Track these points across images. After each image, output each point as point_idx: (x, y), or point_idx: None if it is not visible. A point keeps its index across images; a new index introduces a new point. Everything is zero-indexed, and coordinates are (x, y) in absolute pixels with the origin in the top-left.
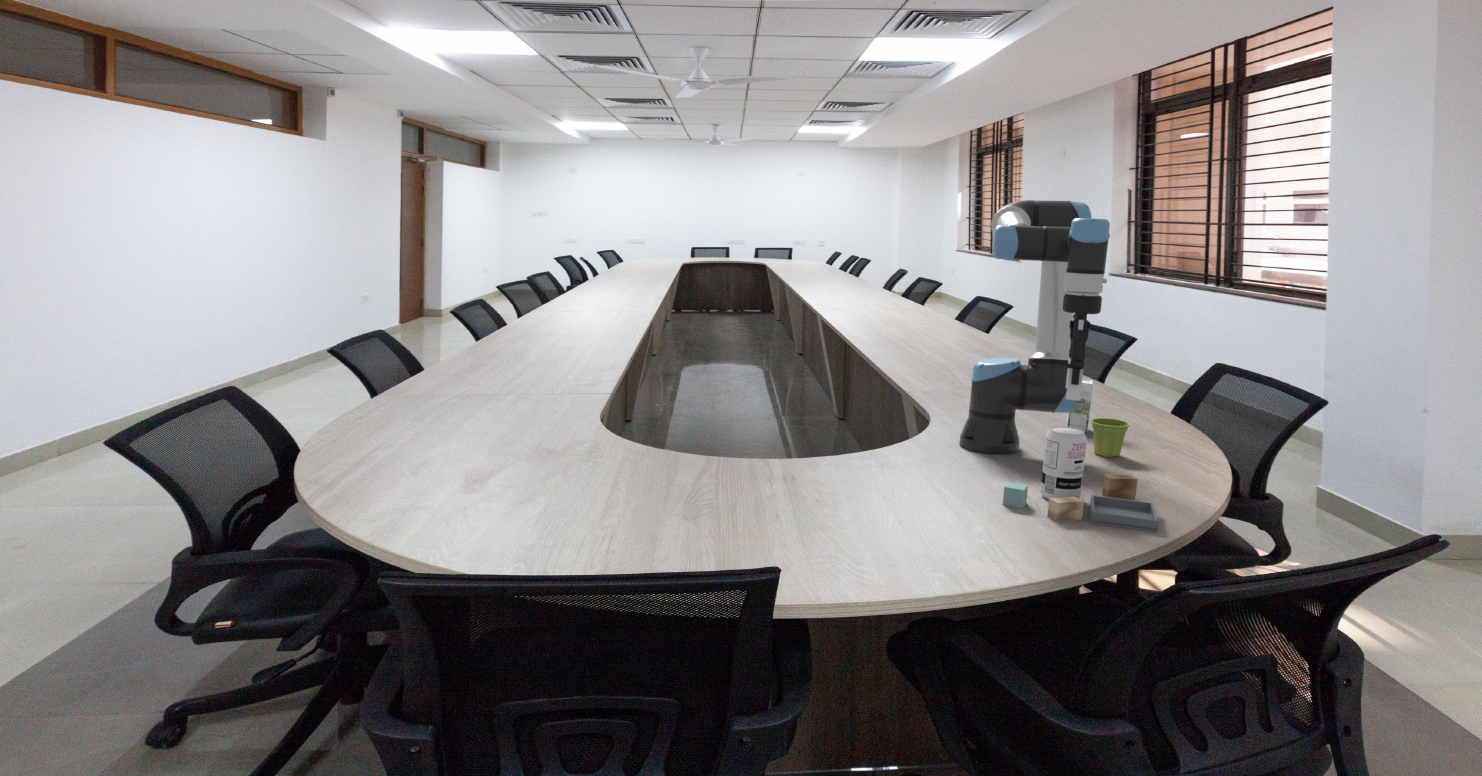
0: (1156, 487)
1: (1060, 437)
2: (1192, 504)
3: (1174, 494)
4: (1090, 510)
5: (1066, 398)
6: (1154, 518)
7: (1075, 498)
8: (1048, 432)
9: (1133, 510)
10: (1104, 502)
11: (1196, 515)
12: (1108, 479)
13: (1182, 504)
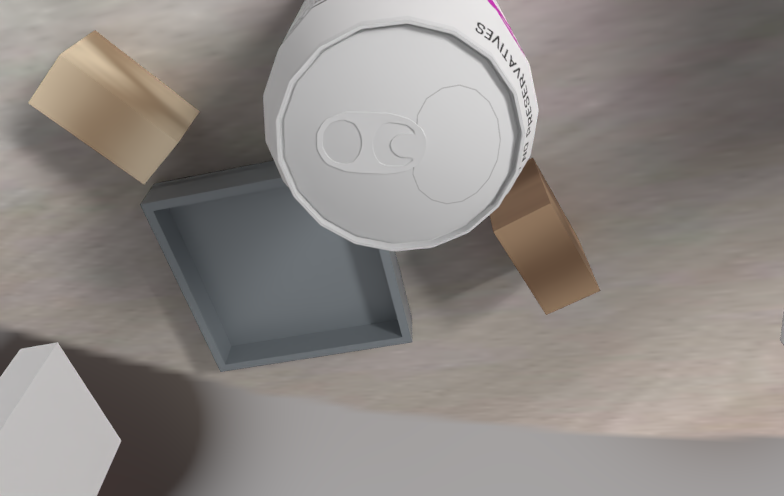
0: (759, 297)
1: (271, 119)
2: (591, 394)
3: (688, 348)
4: None
5: (19, 359)
6: (246, 359)
7: (151, 150)
8: (353, 10)
9: (371, 281)
10: None
11: (475, 408)
12: (505, 220)
13: (575, 374)
